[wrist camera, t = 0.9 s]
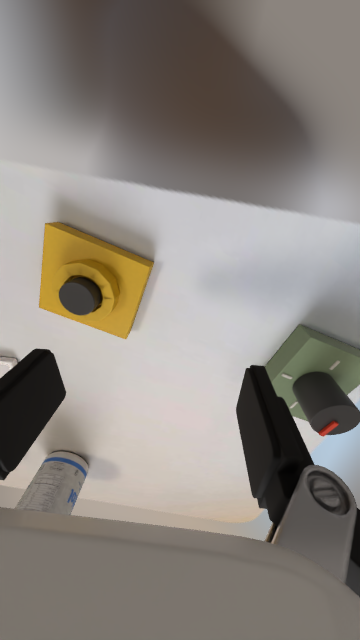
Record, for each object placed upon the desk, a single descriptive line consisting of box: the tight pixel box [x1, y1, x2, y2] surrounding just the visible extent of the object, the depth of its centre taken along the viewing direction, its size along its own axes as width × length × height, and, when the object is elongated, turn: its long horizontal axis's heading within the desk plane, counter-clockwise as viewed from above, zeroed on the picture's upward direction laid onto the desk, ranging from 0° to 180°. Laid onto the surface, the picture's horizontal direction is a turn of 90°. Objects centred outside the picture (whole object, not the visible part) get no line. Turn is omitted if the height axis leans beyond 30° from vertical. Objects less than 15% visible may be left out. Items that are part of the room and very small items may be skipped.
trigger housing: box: [39, 222, 154, 339], centre depth 23 cm, size 10×11×4 cm
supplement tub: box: [15, 451, 88, 515], centre depth 39 cm, size 10×10×15 cm
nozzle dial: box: [292, 372, 360, 436], centre depth 24 cm, size 5×5×5 cm
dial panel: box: [265, 324, 360, 422], centre depth 28 cm, size 12×10×3 cm
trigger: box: [59, 277, 101, 315], centre depth 21 cm, size 4×4×2 cm
